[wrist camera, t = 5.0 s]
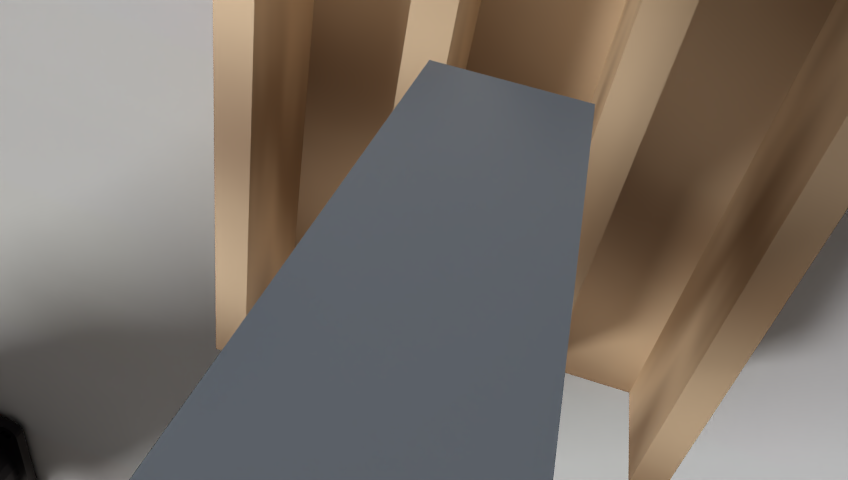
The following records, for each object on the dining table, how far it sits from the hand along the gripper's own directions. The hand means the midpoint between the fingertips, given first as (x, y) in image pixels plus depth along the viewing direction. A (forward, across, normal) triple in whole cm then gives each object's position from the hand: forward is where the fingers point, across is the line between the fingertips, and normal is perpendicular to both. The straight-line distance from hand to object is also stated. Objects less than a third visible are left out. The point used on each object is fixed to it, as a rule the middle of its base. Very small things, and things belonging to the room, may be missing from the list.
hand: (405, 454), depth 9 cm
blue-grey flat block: (+2, 0, 0) cm, 2 cm away
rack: (+10, 0, 0) cm, 10 cm away
